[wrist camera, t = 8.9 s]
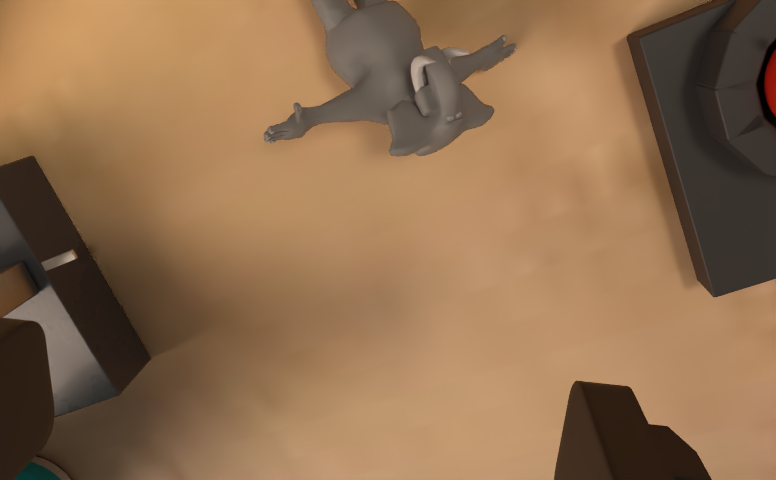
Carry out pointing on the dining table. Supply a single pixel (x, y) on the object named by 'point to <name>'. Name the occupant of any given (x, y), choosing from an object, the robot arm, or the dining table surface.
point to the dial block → (65, 293)
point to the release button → (771, 83)
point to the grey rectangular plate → (15, 287)
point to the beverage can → (42, 471)
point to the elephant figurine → (395, 79)
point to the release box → (716, 134)
